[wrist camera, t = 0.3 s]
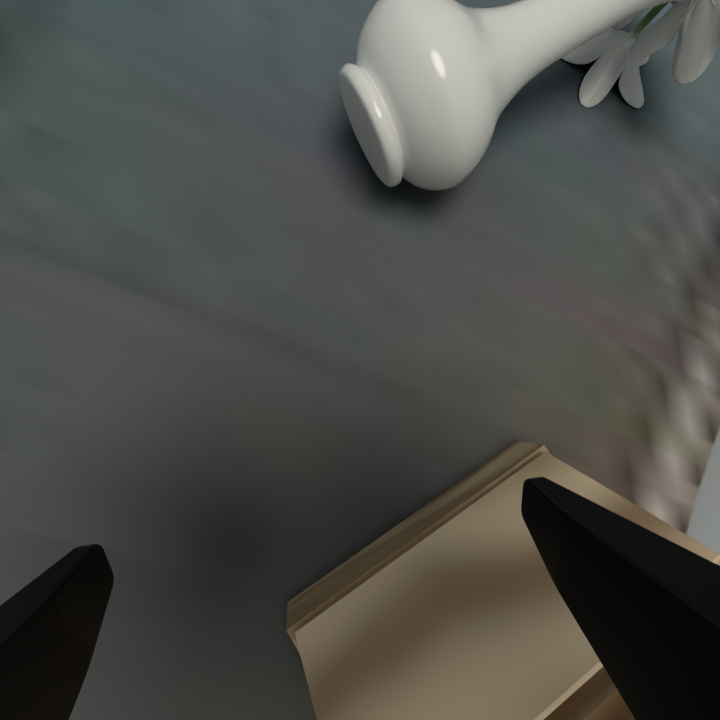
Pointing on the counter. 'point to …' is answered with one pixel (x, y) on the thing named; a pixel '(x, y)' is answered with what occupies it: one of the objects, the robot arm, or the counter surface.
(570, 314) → the counter surface
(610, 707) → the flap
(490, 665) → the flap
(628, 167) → the counter surface
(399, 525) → the carton
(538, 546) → the robot arm
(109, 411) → the counter surface
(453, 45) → the flower vase
